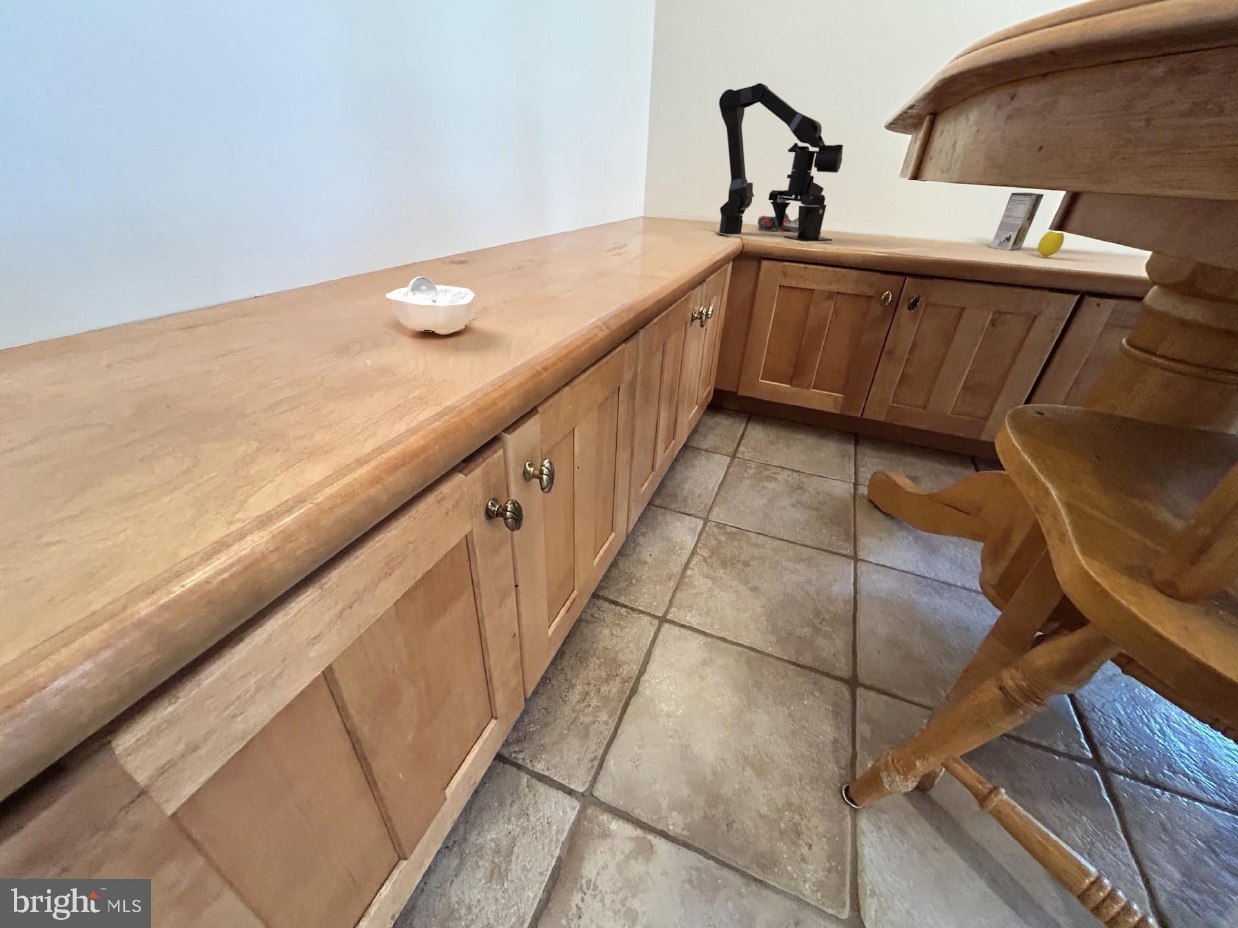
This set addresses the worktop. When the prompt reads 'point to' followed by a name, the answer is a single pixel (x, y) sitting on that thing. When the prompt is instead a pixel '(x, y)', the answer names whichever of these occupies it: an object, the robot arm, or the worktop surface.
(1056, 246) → the lemon
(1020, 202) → the coffee box
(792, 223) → the tap lever
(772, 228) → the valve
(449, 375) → the worktop surface
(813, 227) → the tap bracket
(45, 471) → the worktop surface
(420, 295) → the cell model
